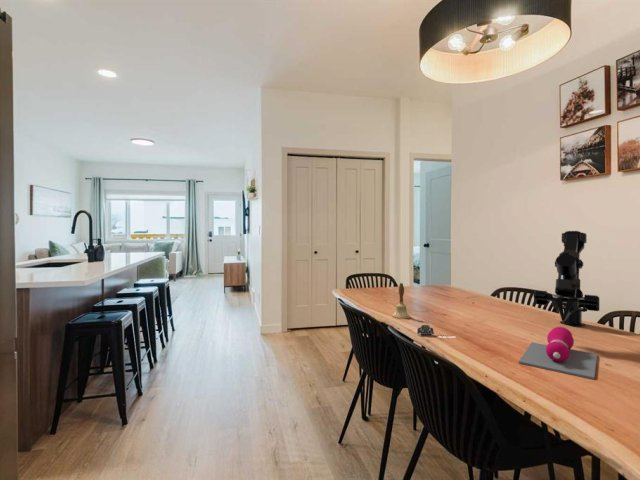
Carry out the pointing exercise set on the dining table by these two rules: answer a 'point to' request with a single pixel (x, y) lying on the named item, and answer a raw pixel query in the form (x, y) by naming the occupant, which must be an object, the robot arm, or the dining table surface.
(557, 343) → the pepper mill
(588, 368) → the mat
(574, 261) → the robot arm
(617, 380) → the dining table surface
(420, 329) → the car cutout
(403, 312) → the hand bell
